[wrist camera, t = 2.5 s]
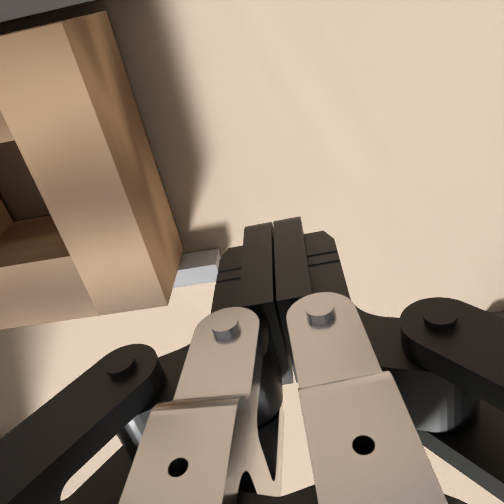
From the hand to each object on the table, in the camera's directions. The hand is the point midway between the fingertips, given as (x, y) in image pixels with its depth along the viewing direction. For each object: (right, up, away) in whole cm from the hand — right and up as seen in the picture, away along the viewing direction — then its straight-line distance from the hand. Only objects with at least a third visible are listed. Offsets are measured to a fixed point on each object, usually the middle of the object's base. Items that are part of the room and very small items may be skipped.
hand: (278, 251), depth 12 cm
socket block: (-11, +4, +9) cm, 15 cm away
